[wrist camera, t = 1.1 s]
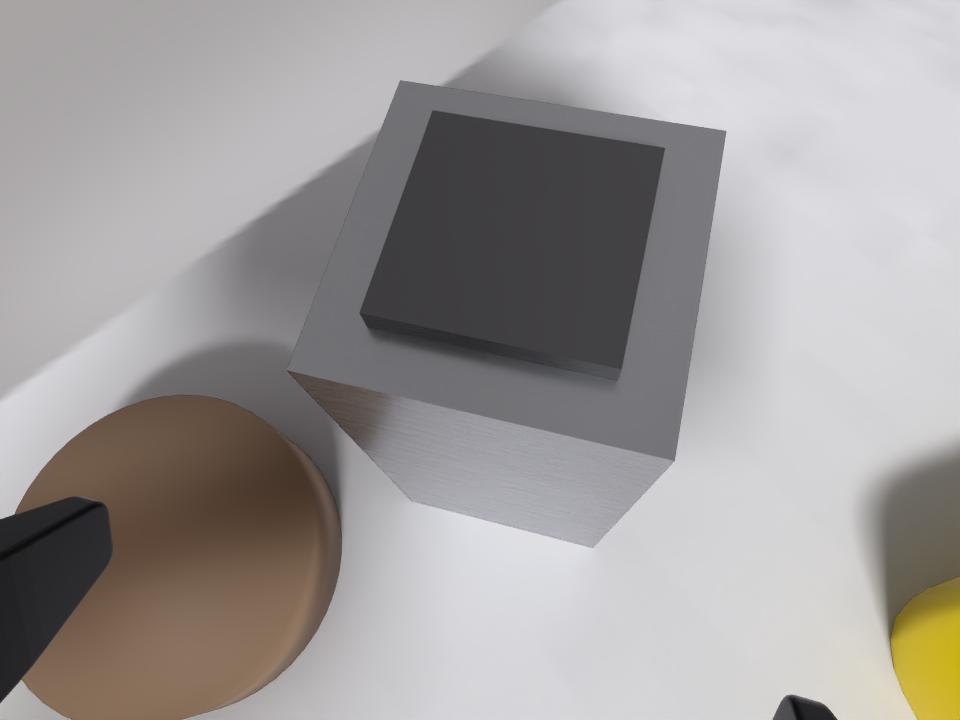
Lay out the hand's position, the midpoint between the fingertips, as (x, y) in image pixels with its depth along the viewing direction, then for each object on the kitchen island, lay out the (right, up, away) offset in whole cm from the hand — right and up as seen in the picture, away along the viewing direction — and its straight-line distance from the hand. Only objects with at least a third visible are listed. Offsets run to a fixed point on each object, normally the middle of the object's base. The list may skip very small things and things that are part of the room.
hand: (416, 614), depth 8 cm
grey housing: (+2, +1, +14) cm, 14 cm away
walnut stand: (-8, -3, +13) cm, 15 cm away
